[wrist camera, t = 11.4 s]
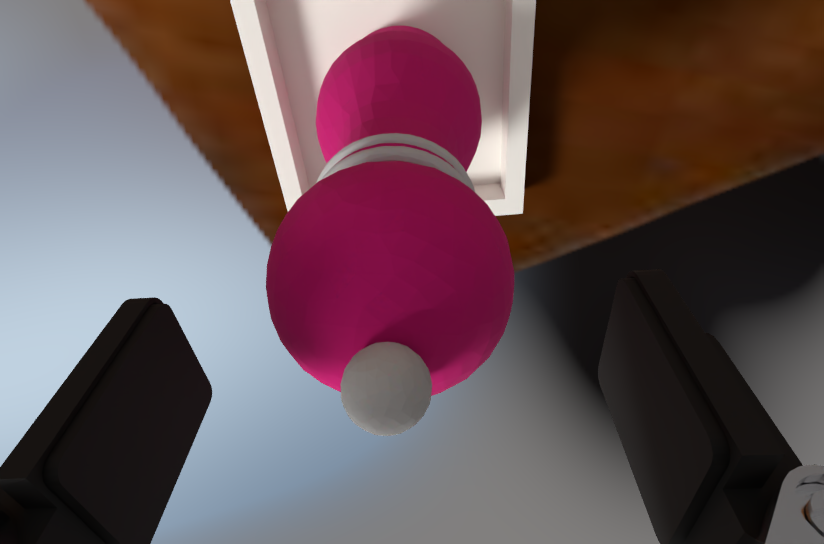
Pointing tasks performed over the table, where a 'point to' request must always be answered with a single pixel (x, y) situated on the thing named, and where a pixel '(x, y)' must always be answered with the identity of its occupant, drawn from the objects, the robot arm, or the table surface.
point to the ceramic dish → (350, 22)
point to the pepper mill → (392, 236)
